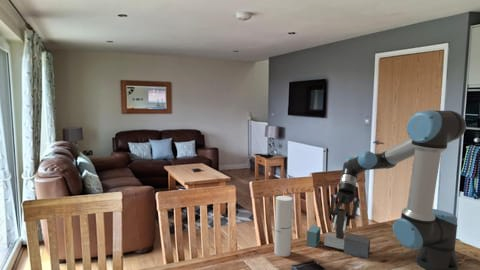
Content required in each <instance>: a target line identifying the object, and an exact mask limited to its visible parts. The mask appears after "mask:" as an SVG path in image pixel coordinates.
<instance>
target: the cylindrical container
mask: <svg viewBox="0 0 480 270" xmlns="http://www.w3.org/2000/svg"><path fill="white" fill-rule="evenodd" d="M274 214H275V215H274V216H275V218H274V219H275V222H274V254H275V255H276V256H278V257H283V258H284V257H285V258H286V257H289V256H290V255H291V248H292V224H293V223H292V219H293V197H292V196H288V195H277V196H276V197H275V213H274Z"/></svg>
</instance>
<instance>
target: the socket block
mask: <svg viewBox="0 0 480 270" xmlns="http://www.w3.org/2000/svg"><path fill="white" fill-rule="evenodd" d="M321 229H322V228H321V226H318V225H313V224H312V225H311V226H310V227H309V228H308V230H306V246H308V247H312V248H316V247H317V246H318V245H319V243H320V242H321V233H322V232H321V231H322V230H321Z"/></svg>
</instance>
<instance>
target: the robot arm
mask: <svg viewBox="0 0 480 270" xmlns="http://www.w3.org/2000/svg"><path fill="white" fill-rule="evenodd" d="M466 129H467V123H466V120H465V118H464V117H463V115H461V114H460V113H459V112H456V111H454V110H435V109H431V110H430V109H429V110H428V109H427V110H421V111H418V112H416V113H414V114H413V115H412V116H411V117H410V118H409V119H408V122H407V125H406V133H407V135H408V137H409V138H408V139H406V140H403V141H402V142H399V143H398V144H396V145H394V146H392V147H390V148H389V149H387V150H385V151H383V152H380V153H374V152H372V151H371V150H370V151H365V152H362V153H361V154H359V155H358V156H356V157H353V156H350V157H347V158H345V159H344V163H343V165H342V169H341V170H342V171H341V177H340V181H339V186H338V191H337V193H336V194H333V193H332V194H330V199H331V200H330V205H329V211H328V212H329V215H330V216H332V218H331V223H332V231H334V232H336V229H337V210H338V209H341V207H342V205H343V204H345V205H346V216H345V221H344V226H343V233H344V234H346V231H347V227H349V226H350V223H351V221H350V220H355V219H356V215H357V210H358V207H359V204H360V203H361V202H360V201H361V200H360V198H359V197H356V195H355V194H356V188H357V187H356V186H357V182H358V176H359V175H360V174H362V173H363V172H366V171H371V170H383V169H388V170H389V169H392V168H395V167H396V165H397V164H399V163H401V162H403V161H405V160H407V159H410V158H411V157H413V161H412V162H413V163H412V169H411V176H410V183H409V190H408V197H407V204H406V207H404V208H402V210H401V214H400V215H401V216H400V218H401V219H400V218H397V219H396V220H395V221H394V222H393V225H392V227H393V229H392V230H393V235H394V236H395V238H396V239H397V241H398V243H399V244H401V246H403V247H404V248H407V249H411V250H414V249H418V251H417V253H416V256H415V257H416V258H415V262H416V264H417V265H418V266H419V267H421V268H422V269H424V270H459V268H460V267H459V261H458V258H457V254H456V241H457V240H456V239H457V232H458V231H457V230H458V218H457V216H456V215H455V214H453V213H451V212H448V211H444V210H440V209H435V208H433V207H434V206H433V205H434V201H435V195H436V194H435V193H436V188H437V180H438V176H439V175H438V173H439V169H440V168H439V167H440V163H441V157H442V156H441V155H442V152H444V151H446V150H447V148H448V143H451V142H454V141H456V140H458V139H460V138H461V137H462V136H463V135H464V134H465V132H466V131H467V130H466ZM336 199H337V200H338V201H337V204H336V206H335V200H336ZM353 201H354V203H353V206H352V212H351V203H352V202H353Z"/></svg>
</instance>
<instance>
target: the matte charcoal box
mask: <svg viewBox="0 0 480 270" xmlns="http://www.w3.org/2000/svg"><path fill="white" fill-rule="evenodd" d="M345 234H346V235H344V236H345V238H344V250H343V254H345V255H349V256H352V257H353V256H354V257H357V258H358V257H359V258H363V259H367V260H368V259H369V255H370V253H371V252H370V248H371V237H370V236H366V235H365V236H364V235H359V234H355V233H351V232H350V233H349V232H347V233H345Z"/></svg>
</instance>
